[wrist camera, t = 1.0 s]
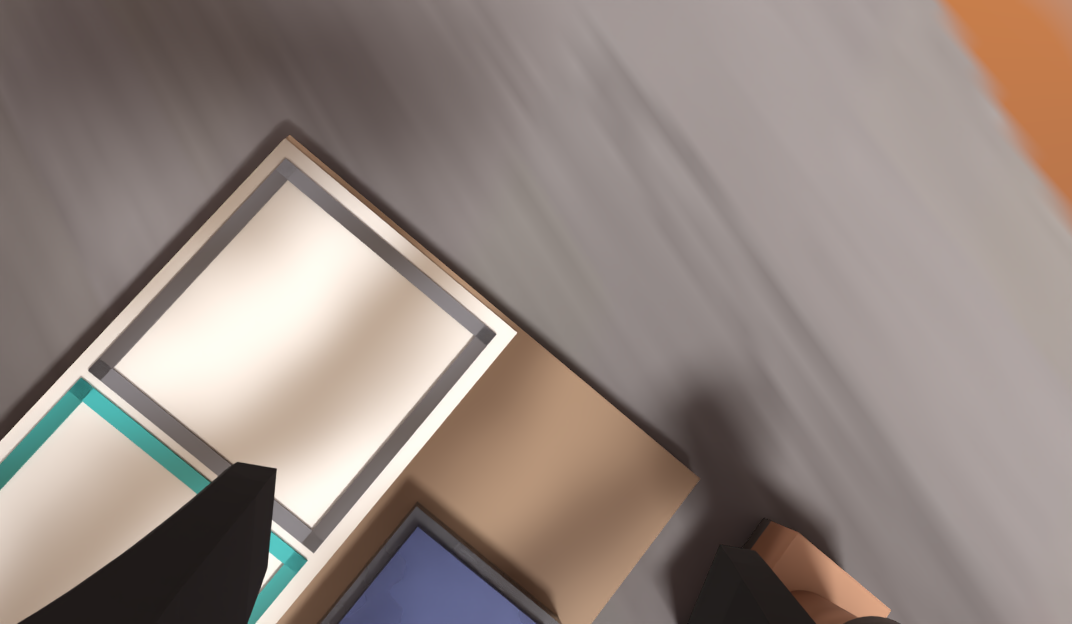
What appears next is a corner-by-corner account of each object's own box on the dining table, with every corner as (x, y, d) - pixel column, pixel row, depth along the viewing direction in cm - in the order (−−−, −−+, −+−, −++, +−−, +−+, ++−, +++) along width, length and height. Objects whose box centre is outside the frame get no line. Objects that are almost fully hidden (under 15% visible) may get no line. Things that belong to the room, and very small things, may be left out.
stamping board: (692, 475, 27) (702, 479, 26) (307, 985, 24) (301, 1011, 23) (293, 141, 26) (288, 132, 25) (-157, 624, 23) (-184, 635, 22)
